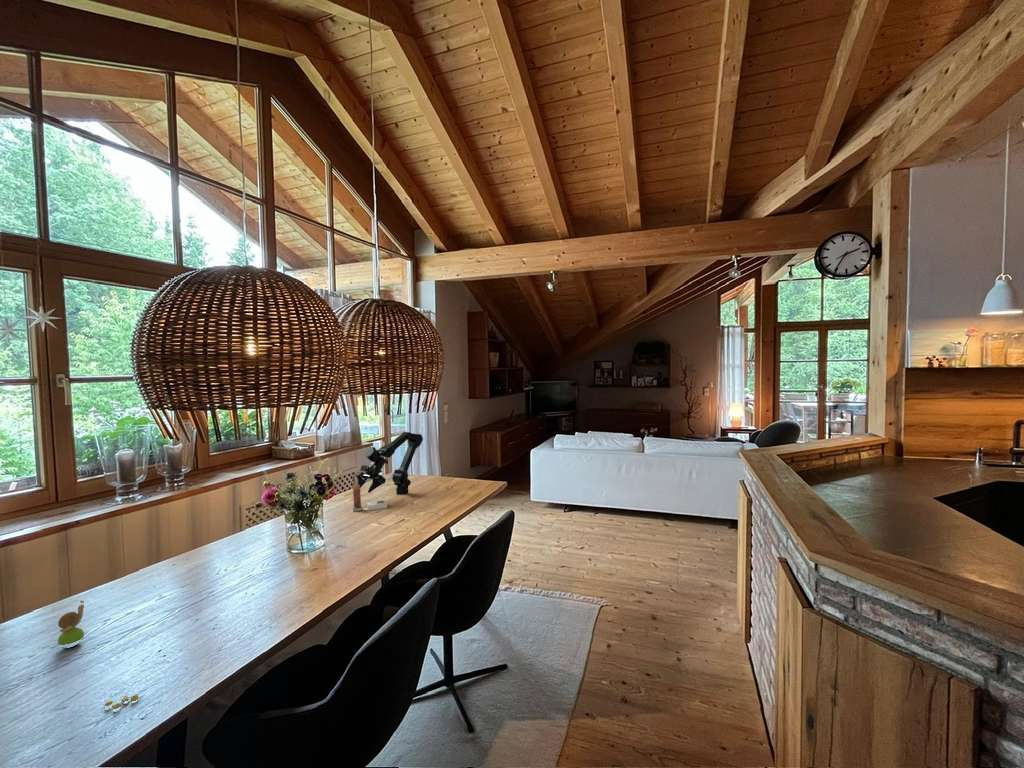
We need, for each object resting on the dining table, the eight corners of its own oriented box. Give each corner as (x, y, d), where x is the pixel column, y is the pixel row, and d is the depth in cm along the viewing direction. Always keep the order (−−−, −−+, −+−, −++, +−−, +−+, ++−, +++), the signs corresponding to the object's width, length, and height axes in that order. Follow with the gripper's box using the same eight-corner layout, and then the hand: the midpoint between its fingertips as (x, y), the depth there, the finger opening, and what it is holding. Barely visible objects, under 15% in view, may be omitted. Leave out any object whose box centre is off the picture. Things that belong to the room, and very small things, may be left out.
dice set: (140, 703, 108) (139, 695, 108) (114, 718, 104) (113, 710, 104) (129, 696, 111) (128, 689, 111) (103, 711, 106) (102, 703, 106)
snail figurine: (93, 640, 133) (90, 601, 133) (67, 653, 127) (64, 613, 126) (79, 637, 135) (76, 599, 134) (53, 651, 128) (49, 611, 128)
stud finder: (385, 504, 248) (385, 499, 248) (387, 507, 242) (386, 502, 242) (366, 507, 244) (366, 502, 244) (367, 510, 239) (367, 505, 238)
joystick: (363, 508, 242) (362, 484, 241) (360, 511, 237) (359, 486, 236) (354, 508, 242) (353, 484, 241) (351, 511, 237) (349, 486, 236)
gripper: (356, 457, 251) (341, 481, 242) (380, 460, 241) (365, 486, 232) (368, 467, 258) (354, 492, 249) (392, 471, 248) (378, 496, 240)
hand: (362, 491), depth 242 cm, fingers open, 9 cm apart
